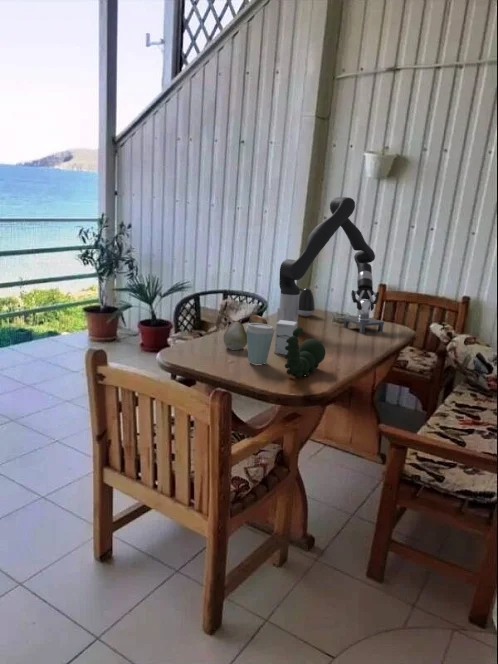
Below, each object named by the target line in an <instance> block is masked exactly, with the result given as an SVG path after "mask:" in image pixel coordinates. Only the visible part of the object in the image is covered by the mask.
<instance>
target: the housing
mask: <svg viewBox="0 0 498 664" xmlns="http://www.w3.org/2000/svg"><path fill="white" fill-rule="evenodd" d="M370 303H371V301H368V300H367V299H361V300H360V310H358V317H359V318H358V320H361V321H369V318H370V314H371V308H370V305H371V304H370Z"/></svg>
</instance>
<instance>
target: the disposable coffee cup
mask: <svg viewBox="0 0 498 664" xmlns="http://www.w3.org/2000/svg"><path fill="white" fill-rule="evenodd" d="M245 331H246V333H247V345H246V346H247V355H248V358H247V359H248V362H251V363H254V364H264V363H266V364H267V362H268V358H269V354H270V349H271V345H272V340H273V336H274V333H275V329H274V326H272V325H269V324H268V325H267V324H261V323H249V322H248V323H247V325H246V326H245Z"/></svg>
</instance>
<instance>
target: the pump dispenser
mask: <svg viewBox="0 0 498 664" xmlns="http://www.w3.org/2000/svg"><path fill="white" fill-rule="evenodd" d="M299 288H300V287H299ZM315 310H316V306H315V297H314V293H313V292H312V290H311V289H310V288H308V287H305V288H300V296H299V309H298V316H301V317H309V316H312V315H313V314H314V312H315Z"/></svg>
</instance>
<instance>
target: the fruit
mask: <svg viewBox="0 0 498 664" xmlns="http://www.w3.org/2000/svg"><path fill="white" fill-rule="evenodd" d="M242 321H243V319H239V321H236V320H235V321H234V322H233V323H232V324H231V325H230V326H229V327H228V328H226V330H225V332H224V334H223V343H224V346H225V347H226V348H227V349H228V348H229V349H228V350H232V349H234V350H233V351H239V350H242V349H244V348H245V347H246V346H248V345H247V331H246V329H245V327H244V325H243V324H242Z"/></svg>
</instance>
